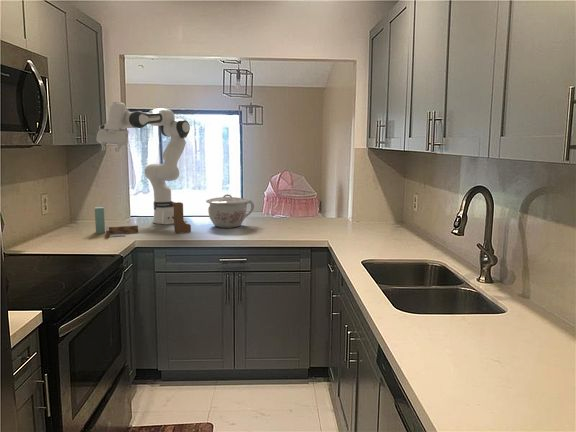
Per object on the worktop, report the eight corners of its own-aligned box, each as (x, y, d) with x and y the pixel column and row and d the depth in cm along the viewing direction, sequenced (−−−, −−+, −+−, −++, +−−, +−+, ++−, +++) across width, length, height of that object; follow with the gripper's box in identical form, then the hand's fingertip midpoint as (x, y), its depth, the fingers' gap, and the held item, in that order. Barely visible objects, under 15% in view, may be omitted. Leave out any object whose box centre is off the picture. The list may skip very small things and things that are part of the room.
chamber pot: (198, 228, 304) (198, 195, 301) (217, 221, 330) (216, 191, 327) (240, 231, 296) (239, 197, 293) (255, 224, 322) (255, 193, 319)
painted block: (104, 231, 292) (103, 206, 289) (105, 233, 287) (103, 208, 285) (95, 232, 290) (94, 207, 288) (96, 233, 285) (94, 208, 283)
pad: (124, 233, 285) (124, 233, 285) (125, 236, 278) (125, 235, 278) (109, 234, 283) (109, 234, 282) (110, 237, 275) (110, 236, 275)
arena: (137, 231, 292) (137, 225, 291) (139, 235, 280) (139, 229, 279) (106, 233, 285) (105, 227, 284) (106, 237, 273) (106, 230, 272)
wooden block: (188, 230, 296) (187, 201, 293) (191, 232, 292) (190, 202, 289) (174, 232, 291) (173, 202, 288) (176, 233, 287) (175, 203, 285)
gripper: (132, 130, 288) (128, 153, 286) (103, 129, 294) (99, 151, 293) (125, 127, 282) (121, 150, 280) (96, 126, 288) (92, 148, 287)
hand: (110, 151), depth 287 cm, fingers open, 8 cm apart
